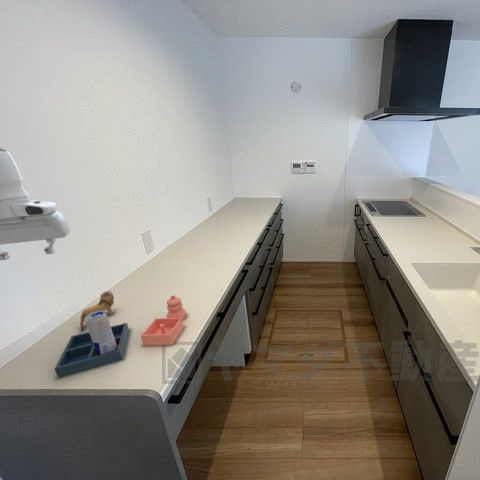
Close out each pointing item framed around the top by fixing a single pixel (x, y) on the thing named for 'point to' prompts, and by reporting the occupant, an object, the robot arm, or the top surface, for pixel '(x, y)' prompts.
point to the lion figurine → (99, 306)
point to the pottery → (166, 325)
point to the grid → (90, 352)
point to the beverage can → (101, 332)
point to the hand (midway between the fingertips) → (28, 256)
